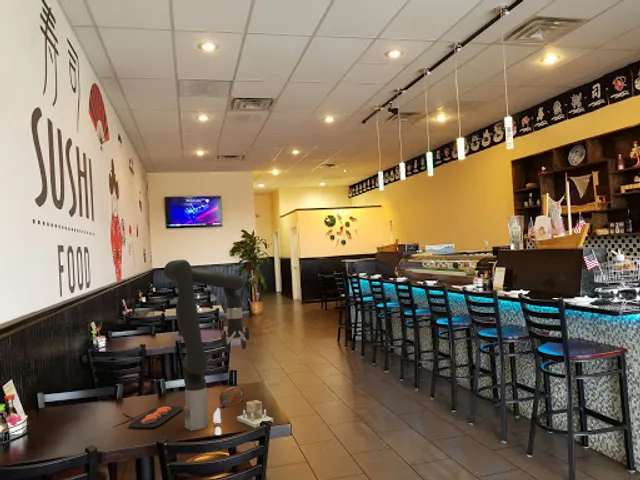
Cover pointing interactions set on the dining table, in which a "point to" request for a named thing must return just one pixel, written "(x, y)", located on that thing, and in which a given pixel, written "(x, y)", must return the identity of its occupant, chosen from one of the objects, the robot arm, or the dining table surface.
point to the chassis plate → (251, 421)
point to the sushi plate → (153, 417)
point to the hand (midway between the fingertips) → (235, 350)
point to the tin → (231, 396)
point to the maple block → (254, 409)
